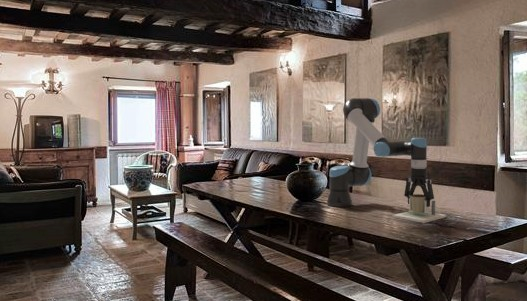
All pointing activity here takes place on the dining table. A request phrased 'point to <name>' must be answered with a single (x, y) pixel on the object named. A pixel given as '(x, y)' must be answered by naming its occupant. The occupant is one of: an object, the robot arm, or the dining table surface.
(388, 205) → the dining table surface
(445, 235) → the dining table surface
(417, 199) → the flower pot
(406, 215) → the board
